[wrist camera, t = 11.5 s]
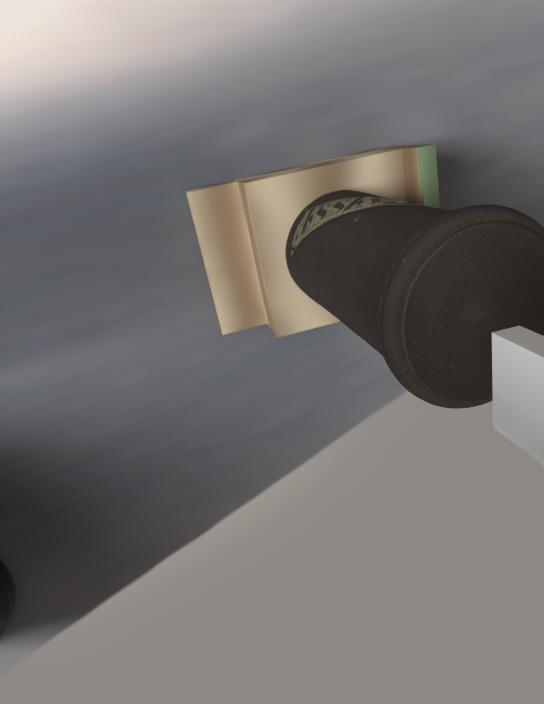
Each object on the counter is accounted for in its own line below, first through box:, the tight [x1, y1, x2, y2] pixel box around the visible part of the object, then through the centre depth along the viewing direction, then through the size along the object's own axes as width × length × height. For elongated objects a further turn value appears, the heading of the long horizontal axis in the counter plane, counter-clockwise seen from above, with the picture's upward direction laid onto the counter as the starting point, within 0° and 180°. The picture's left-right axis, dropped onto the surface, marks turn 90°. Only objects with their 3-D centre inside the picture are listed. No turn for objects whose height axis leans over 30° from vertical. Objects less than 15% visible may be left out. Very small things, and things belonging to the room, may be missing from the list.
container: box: [285, 190, 544, 408], centre depth 30 cm, size 9×9×20 cm
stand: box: [186, 144, 440, 338], centre depth 41 cm, size 17×12×10 cm
